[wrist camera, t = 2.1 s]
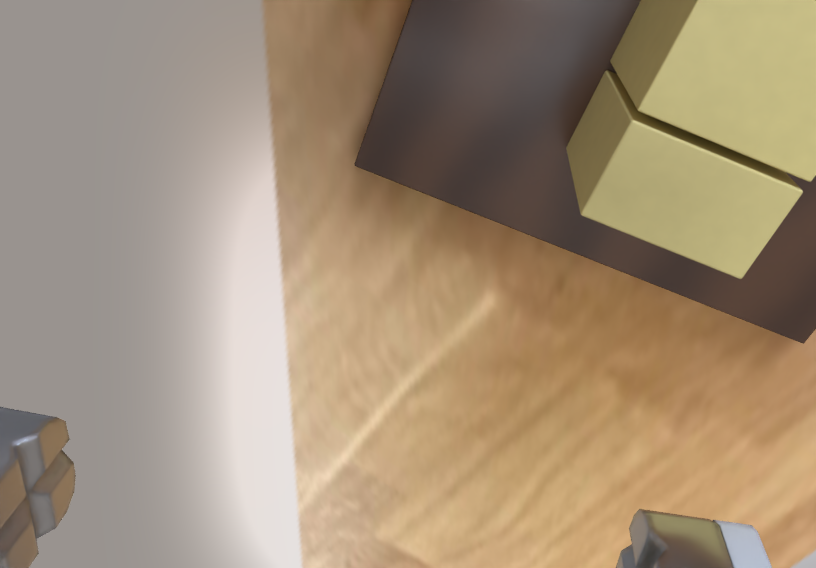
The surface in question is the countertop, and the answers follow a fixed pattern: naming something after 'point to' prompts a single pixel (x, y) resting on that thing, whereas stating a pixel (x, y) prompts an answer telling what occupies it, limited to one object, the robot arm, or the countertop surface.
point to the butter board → (551, 145)
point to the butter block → (728, 74)
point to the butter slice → (674, 184)
